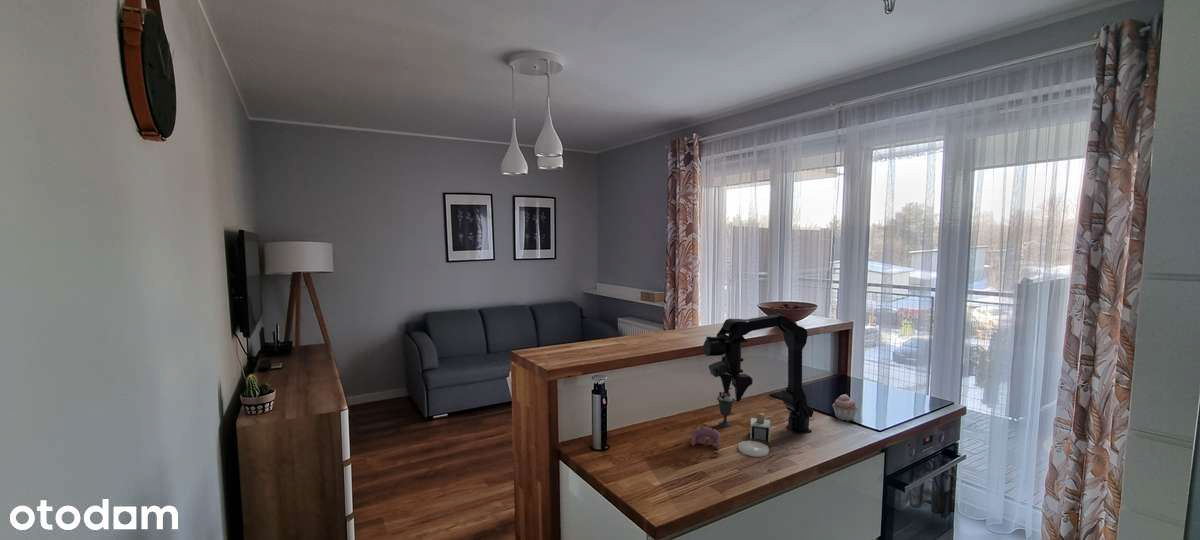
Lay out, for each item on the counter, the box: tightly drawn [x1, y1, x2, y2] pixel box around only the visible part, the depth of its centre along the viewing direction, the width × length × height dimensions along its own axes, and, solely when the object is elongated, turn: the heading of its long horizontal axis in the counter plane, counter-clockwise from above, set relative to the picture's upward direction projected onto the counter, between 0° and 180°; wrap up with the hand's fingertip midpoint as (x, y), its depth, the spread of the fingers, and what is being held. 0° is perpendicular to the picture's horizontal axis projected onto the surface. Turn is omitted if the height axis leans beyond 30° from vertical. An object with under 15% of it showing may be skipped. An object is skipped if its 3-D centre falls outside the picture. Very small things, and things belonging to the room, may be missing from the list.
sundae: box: [716, 387, 736, 428], centre depth 181 cm, size 7×7×15 cm
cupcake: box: [831, 393, 859, 422], centre depth 188 cm, size 9×9×10 cm
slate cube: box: [753, 426, 767, 441], centre depth 170 cm, size 4×4×4 cm
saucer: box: [737, 440, 770, 458], centre depth 160 cm, size 10×10×1 cm
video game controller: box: [691, 426, 722, 451], centre depth 164 cm, size 10×5×7 cm, turn 71°
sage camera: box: [749, 412, 771, 443], centre depth 170 cm, size 7×7×8 cm
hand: (731, 397), depth 170 cm, fingers open, 9 cm apart
